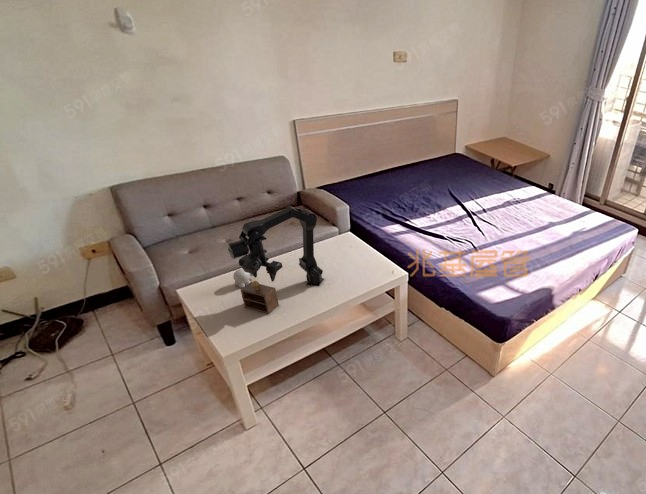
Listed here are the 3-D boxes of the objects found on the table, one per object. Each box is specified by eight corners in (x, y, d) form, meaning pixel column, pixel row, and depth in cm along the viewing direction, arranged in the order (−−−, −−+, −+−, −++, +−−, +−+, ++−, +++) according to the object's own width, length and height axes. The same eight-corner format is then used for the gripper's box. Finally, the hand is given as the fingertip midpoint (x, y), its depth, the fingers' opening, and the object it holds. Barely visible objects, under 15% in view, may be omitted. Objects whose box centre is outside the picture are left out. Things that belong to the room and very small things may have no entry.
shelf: (249, 273, 187) (238, 281, 182) (273, 279, 185) (263, 287, 179) (255, 299, 195) (244, 307, 189) (278, 305, 192) (268, 313, 186)
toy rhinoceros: (263, 279, 209) (260, 265, 204) (240, 290, 200) (236, 276, 196) (255, 274, 212) (252, 260, 207) (232, 284, 204) (228, 270, 199)
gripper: (225, 255, 175) (234, 284, 183) (262, 263, 171) (270, 293, 180) (243, 242, 184) (251, 271, 192) (279, 250, 180) (286, 279, 189)
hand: (264, 279), depth 188 cm, fingers open, 9 cm apart
